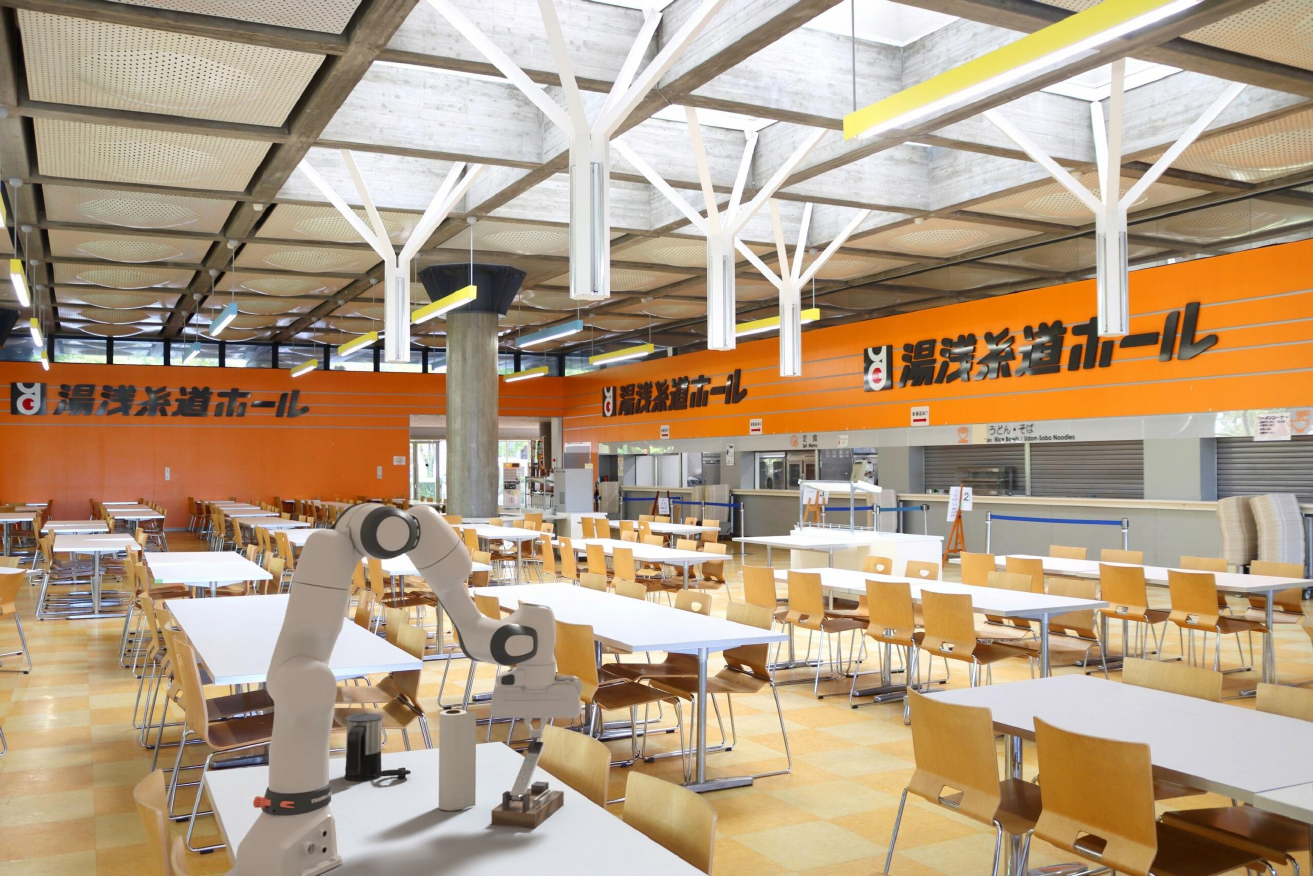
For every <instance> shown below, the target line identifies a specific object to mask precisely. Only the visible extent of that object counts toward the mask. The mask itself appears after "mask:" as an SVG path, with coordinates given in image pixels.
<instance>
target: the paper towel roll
mask: <svg viewBox="0 0 1313 876" xmlns="http://www.w3.org/2000/svg"><path fill="white" fill-rule="evenodd" d="M438 730H439V731H438V732H439V733H438V734H439V736H438V737H439V739H438V749H439V750H438V757H439V758H438V808H439V809H440V810H442V811H451V812H452V811H458V810H464V809H466V808H470V807H475V806H476V788H477V787H476V785H477V784H476V782H477V777H476V776H477V775H476V774H477V773H476V772H477V771H476V769H477V767H476V766H477V760H476V759H477V756H476V755H477V747H476V746H477V711H470V712H467V711H466V710H464V709H447V710H442V711H440V712H439V727H438Z"/></svg>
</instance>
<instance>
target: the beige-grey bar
mask: <svg viewBox="0 0 1313 876" xmlns="http://www.w3.org/2000/svg"><path fill="white" fill-rule="evenodd" d="M545 746H546V745H545V742H544V741H533V740H531V741H529V744H528V746H527V748H526V751H527V752H526V754H525V757H524V759H523V762H522V765H521V767H520V770H519V771H518V774H517V776H516V778H515V782H514V783H513V786H512V788H511V791H510V792H511V793H510V795H509V798H508V799H509V801H521V802H523V795H524V794H525V793H526V791H527V789H529V786H530V784H531V782H532V781H531V780H532V778H533V775H534V773H535V771H536V768H537V765H538V763H539V760H540V758H541V755H542V753H543V751H544V748H545Z"/></svg>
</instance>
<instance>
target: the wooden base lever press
mask: <svg viewBox="0 0 1313 876" xmlns="http://www.w3.org/2000/svg"><path fill="white" fill-rule="evenodd" d="M530 786H531V788H528V789H527V791H526V793H525V794H524V795H523V802H521V801H509V799H508V798H509V795H510V793H511V791H509V790H506V791H504V792H502V802H501V803H500V804H498V805H496V806H495V807H494V808H493V809H491V823H490V825H494V826H502V827H503V826H504V827H513V826H516V827H517V828H524V827H525V828H529V829H536V828H537V826H538V827H539V826H540V825H541V824H543V823H544V822H545V821H546V820H547V819H548V818H549V817H551V816H552V815H553V814H555V813H556V812H557V811H558V810H560V809H561V808H562V807H563V806H564V805H565V804H564V801H565V794H564V792H565V791H564V790H563V791H562V790H555V789H549V788H550V787H549V782H548V781H538V780H537V781H535V782H534V783H532V784H531V785H530ZM516 827H515V828H516Z"/></svg>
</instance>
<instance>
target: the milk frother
mask: <svg viewBox="0 0 1313 876" xmlns="http://www.w3.org/2000/svg"><path fill="white" fill-rule="evenodd" d="M383 717H384V716H383V715H382V714H381V713H356V714H351V715H347V716H346V717H345V720H346V745H345V747H346V748H345V769H344V770H345V774H344V779H346V780H348V781H359V782H361V781H369V780H370V781H371V780H375V779H378V778H380V777H396V776H397V778H398V780H401V779H405V778H406V777H407V775H411V770H407V769H406V767H398V768H397V769H386V770H382V728H383V727H382V725H383V722H382V721H383Z"/></svg>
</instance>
